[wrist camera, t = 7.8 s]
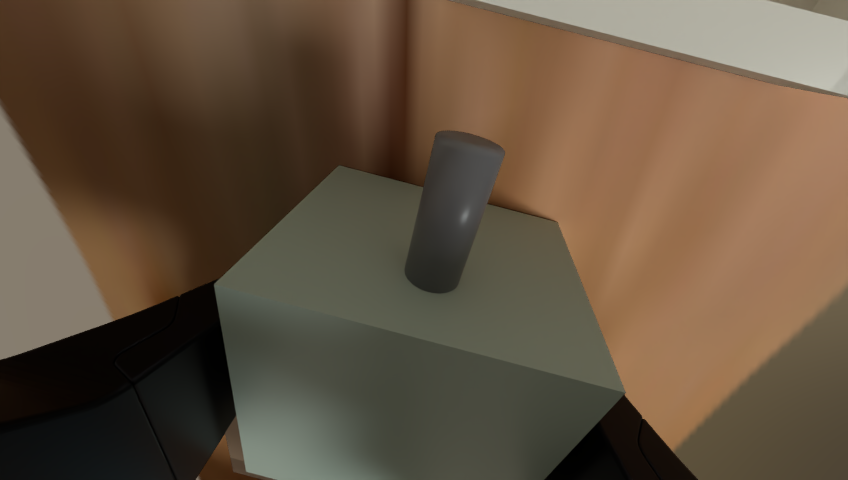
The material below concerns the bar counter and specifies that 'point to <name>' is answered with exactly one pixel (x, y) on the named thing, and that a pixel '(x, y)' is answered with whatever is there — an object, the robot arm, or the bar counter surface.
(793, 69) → the tray
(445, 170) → the block with peg handle
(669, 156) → the bar counter surface
